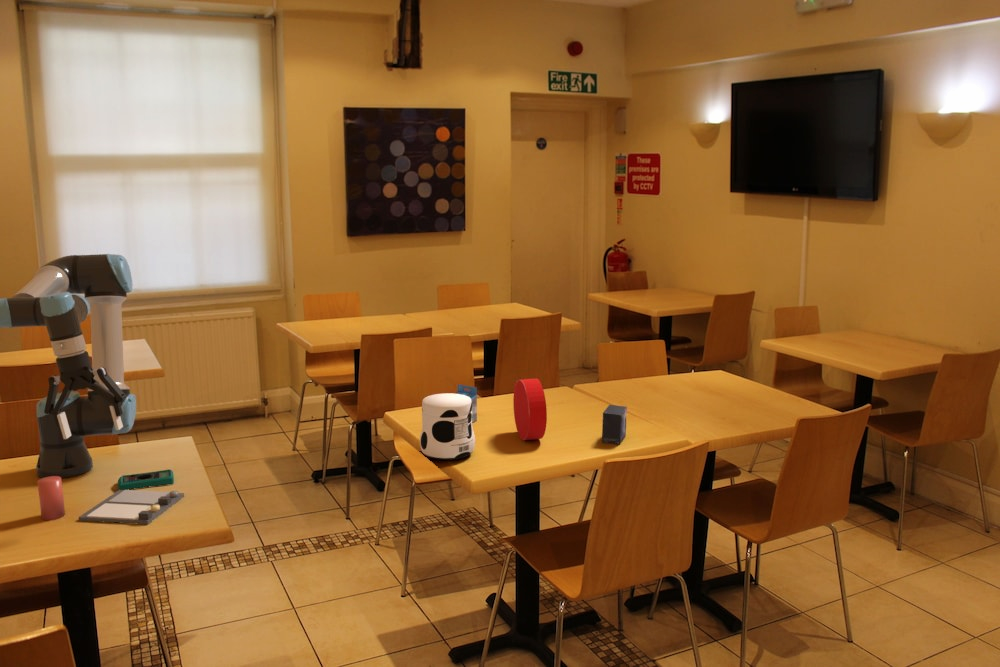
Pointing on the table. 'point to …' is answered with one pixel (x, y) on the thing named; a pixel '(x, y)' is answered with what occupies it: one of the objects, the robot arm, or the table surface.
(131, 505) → the board
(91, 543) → the table surface
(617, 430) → the small box
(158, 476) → the digital multimeter
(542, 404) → the upright red puck
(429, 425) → the milk container
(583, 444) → the table surface
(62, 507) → the pink domed cylinder
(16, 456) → the table surface
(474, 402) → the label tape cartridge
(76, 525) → the table surface
